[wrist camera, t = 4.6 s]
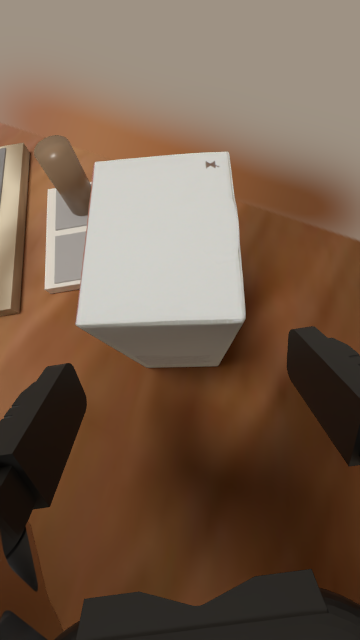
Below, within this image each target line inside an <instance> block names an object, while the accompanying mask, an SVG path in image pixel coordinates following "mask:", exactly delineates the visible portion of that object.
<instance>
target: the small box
mask: <svg viewBox="0 0 360 640" xmlns="http://www.w3.org/2000/svg"><path fill="white" fill-rule="evenodd" d="M245 318H246V312H245V298H244V286H243V274H242V264H241V252H240V241H239V222H238V215H237V206H236V203H235V197H234V190H233V182H232V173H231V165H230V157H229V153H228V152H209V153H191V154H178V155H166V156H153V157H143V158H132V159H121V160H111V161H101V162H95V163H94V166H93V175H92V184H91V193H90V202H89V210H88V219H87V229H86V236H85V246H84V253H83V262H82V271H81V281H80V289H79V298H78V306H77V316H76V322H75V325H76V326H78V327H79V328H81V329H82V330H84V331H86V332H87V333H89V334H91V335H92V336H94V337H96V338H97V339H99V340H101V341H102V342H104V343H106V344H107V345H109V346H111V347H113V348H114V349H116V350H118V351H119V352H121V353H123V354H124V355H126V356H128V357H129V358H131V359H133V360H134V361H136V362H138V363H140V364H141V365H143V366H145V367H146V368H159V367H202V366H218V365H219V364H220V362H221V360H222V359H223V357H224V355H225V353H226V352H227V350H228V348H229V347H230V345H231V343H232V341H233V340H234V338H235V336H236V334H237V333H238V331H239V329H240V328H241V326H242V324H243V322H244V321H245Z"/></svg>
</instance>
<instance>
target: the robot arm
mask: <svg viewBox="0 0 360 640" xmlns="http://www.w3.org/2000/svg"><path fill="white" fill-rule="evenodd" d="M287 370H288V374H289V377H290V380H291V381H292V383H293V384H294V386H295V387H296V389H297V390H298V392H299V393H300V395H301V396H302V398H303V399H304V401H305V402H306V404H307V405H308V407H309V408H310V410H311V411H312V413H313V414H314V416H315V417H316V418H317V420H318V421H319V423H320V424H321V426H322V427H323V429H324V430H325V432H326V433H327V435H328V436H329V438H330V439H331V441H332V442H333V444H334V445H335V447H336V448H337V450H338V451H339V453H340V454H341V455H342V457H343V458H344V460H345V461H346V463H347V464H348V466H355V465H360V356H359V354H358V353H357V352H356V351H355V350H353V349H352V348H351V347H350V346H348V345H347V344H345V343H342V342H340V341H338V340H336V339H334V338H327V337H326V336H325V335H324V334H322V333H321V332H320V331H319V330H318V329H317V328H315V327H313V326H311V327H305V328H298V329H292V330H290V332H289V336H288V353H287ZM86 406H87V401H86V395H85V393H84V390H83V388H82V385H81V383H80V381H79V378H78V376H77V374H76V371H75V369H74V367H73V366H72V364H70V363H66V364H60V365H53V366H48V367H46V368H45V370H44V371H43V373H42V374H41V375H40V377H39V378H38V380H37V381H36V382H34V383H33V384H31V385H30V386H29V387H28V388H27V389H26V390H24V391H23V392H22V393H21V394H20V395H19V397H18V398H17V399H16V401H15V402H14V403H13V405H12V408H10V409H9V410H8V412H7V413H6V414H5V416H4V419H2V420H1V421H0V640H360V605H359V604H357V603H355V602H353V601H352V600H350V599H348V598H346V597H344V596H342V595H339V594H337V593H334V592H331V591H329V590H326V589H322V588H319V587H318V585H317V582H316V579H315V577H314V574H313V572H312V569H308V570H300V571H293V572H285V573H278V574H270V575H262V576H255V577H253V578H251V579H249V580H248V581H246V582H244V583H242V584H240V585H238V586H237V587H235V588H233V589H231V590H229V591H227V592H226V593H224V594H222V595H220V596H218V597H216V598H215V599H213V600H211V601H209V602H207V603H206V604H203V605H201V606H192V605H188V604H184V603H180V602H176V601H173V600H169V599H165V598H161V597H157V596H154V595H150V594H146V593H142V592H133V593H126V594H118V595H111V596H103V597H95V598H88V599H84V603H83V608H82V613H81V618H80V621H78V622H77V623H75V624H74V625H72V626H71V627H69V628H68V629H66V630H65V631H64V632H63V630H62V627H61V624H60V621H59V619H58V617H57V614H56V612H55V610H54V608H53V607H52V605H51V603H50V600H49V598H48V595H47V591H46V587H45V583H44V579H43V574H42V570H41V566H40V562H39V557H38V553H37V549H36V545H35V540H34V536H33V532H32V528H31V525H30V523H29V522H28V519H29V517H30V514H31V512H32V510H33V509H39V508H46V507H50V505H51V502H52V500H53V497H54V494H55V492H56V489H57V486H58V484H59V481H60V478H61V476H62V473H63V470H64V468H65V465H66V462H67V460H68V457H69V454H70V452H71V449H72V446H73V444H74V441H75V438H76V435H77V433H78V430H79V427H80V425H81V422H82V419H83V417H84V414H85V411H86Z"/></svg>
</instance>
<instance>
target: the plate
mask: <svg viewBox="0 0 360 640" xmlns="http://www.w3.org/2000/svg"><path fill="white" fill-rule="evenodd" d="M34 156H35V158H36V159H37V161H38V162H39V164H40V165H41V167H42V168H43V170H44V171H45V173H46V174H47V176H48V177H49V179H50V180H51V182H52V183H53V185H54V186H55V188H53V189H48V199H47V231H46V263H45V290H46V291H48V292H49V293H50V294H53V293H59V292H65V291H71V290H77V289H80V281H81V271H82V262H83V253H84V246H85V236H86V229H87V219H88V210H89V202H90V193H91V184H92V182H89V180H88V178H87V176H86V174H85V172H84V170H83V168H82V166H81V164H80V162H79V160H78V158H77V156H76V154H75V152H74V150H73V148H72V146H71V144H70V142H69V141H68V139H67V138H65V137H63V136H59V135H55V136H49V137H47V138H44V139H43V140H41V141H40V142H39V143H38V144H37V145H36V147H35V149H34Z"/></svg>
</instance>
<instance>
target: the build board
mask: <svg viewBox="0 0 360 640" xmlns="http://www.w3.org/2000/svg"><path fill="white" fill-rule="evenodd" d="M29 159H30V152H29V150H28V149H27V147H26V146H25V145H24V143H19V144H14V145H8V146H2V147H0V316H5V315H11V314H17V313H20V298H21V282H22V267H23V252H24V236H25V221H26V205H27V190H28V174H29Z"/></svg>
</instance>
